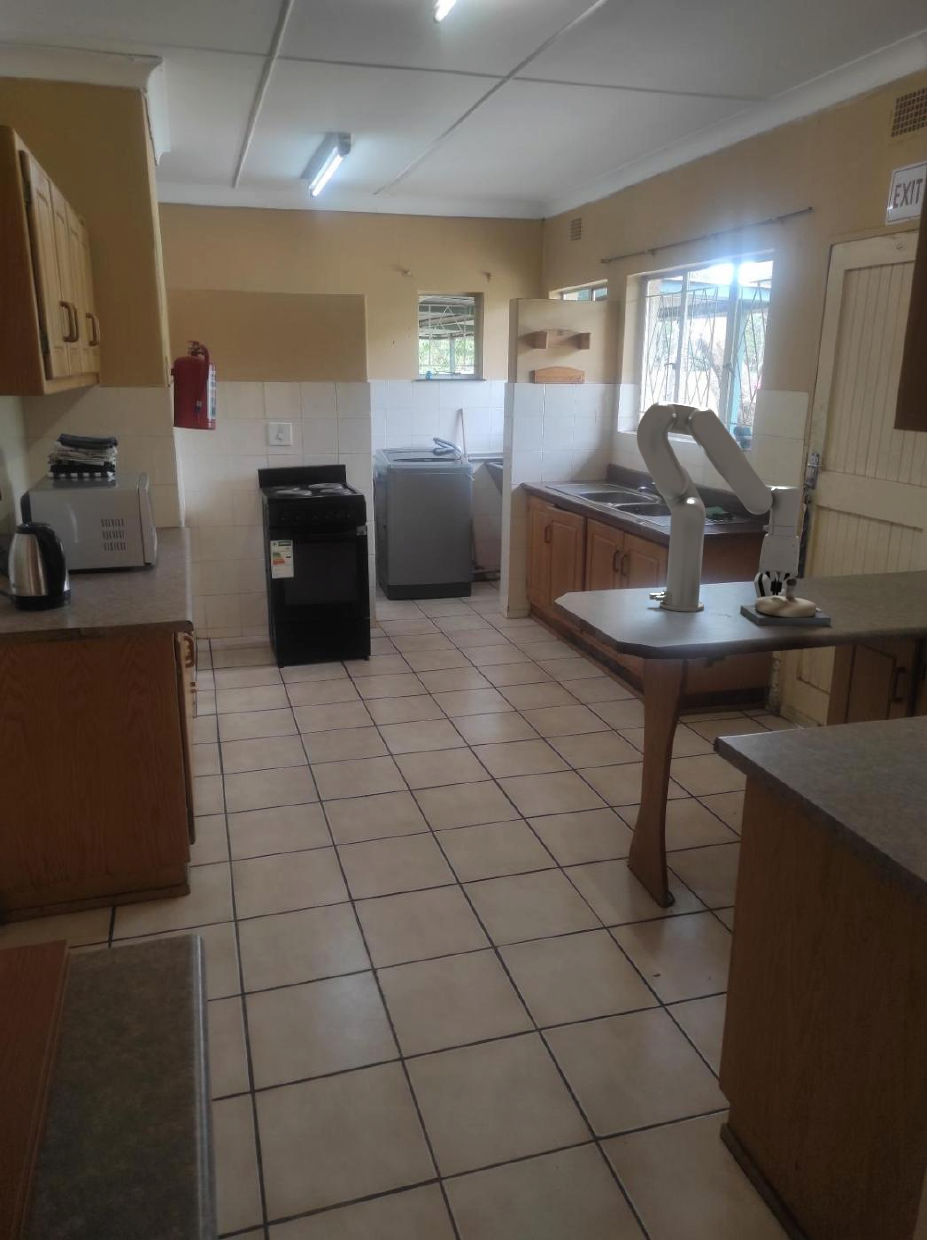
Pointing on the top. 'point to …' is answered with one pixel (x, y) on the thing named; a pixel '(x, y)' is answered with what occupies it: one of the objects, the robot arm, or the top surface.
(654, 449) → the robot arm
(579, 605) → the top surface
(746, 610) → the wheel base
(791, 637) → the top surface
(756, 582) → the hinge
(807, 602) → the wheel
